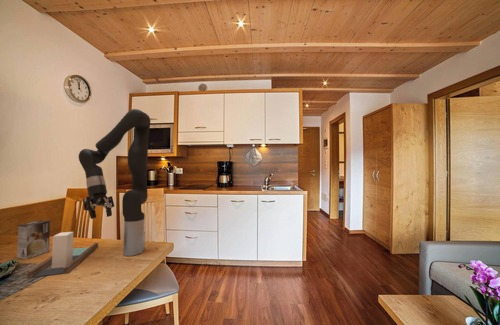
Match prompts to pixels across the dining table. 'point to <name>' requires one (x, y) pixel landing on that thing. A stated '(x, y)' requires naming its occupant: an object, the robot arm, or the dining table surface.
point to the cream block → (62, 249)
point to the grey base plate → (51, 271)
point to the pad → (78, 251)
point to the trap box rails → (66, 268)
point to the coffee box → (33, 239)
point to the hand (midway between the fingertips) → (101, 217)
